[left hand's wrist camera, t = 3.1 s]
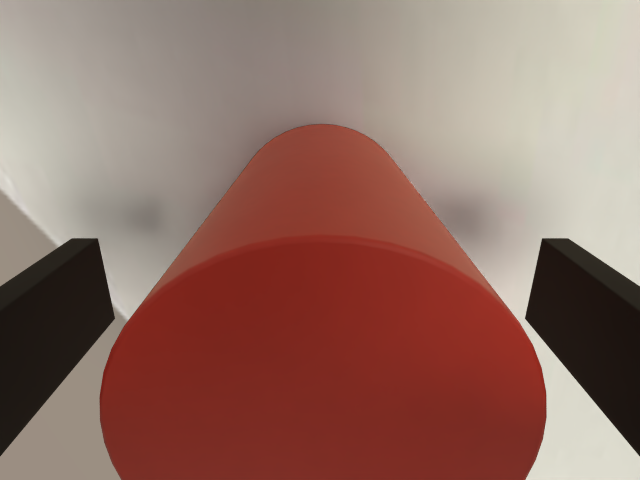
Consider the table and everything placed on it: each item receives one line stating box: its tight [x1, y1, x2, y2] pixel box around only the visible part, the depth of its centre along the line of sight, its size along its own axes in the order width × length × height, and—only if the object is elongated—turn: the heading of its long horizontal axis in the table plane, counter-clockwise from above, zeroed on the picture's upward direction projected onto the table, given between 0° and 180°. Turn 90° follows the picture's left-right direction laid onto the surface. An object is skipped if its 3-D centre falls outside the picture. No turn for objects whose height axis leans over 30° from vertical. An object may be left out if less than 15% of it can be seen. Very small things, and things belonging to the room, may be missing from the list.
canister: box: [100, 124, 546, 480], centre depth 13 cm, size 7×7×12 cm
